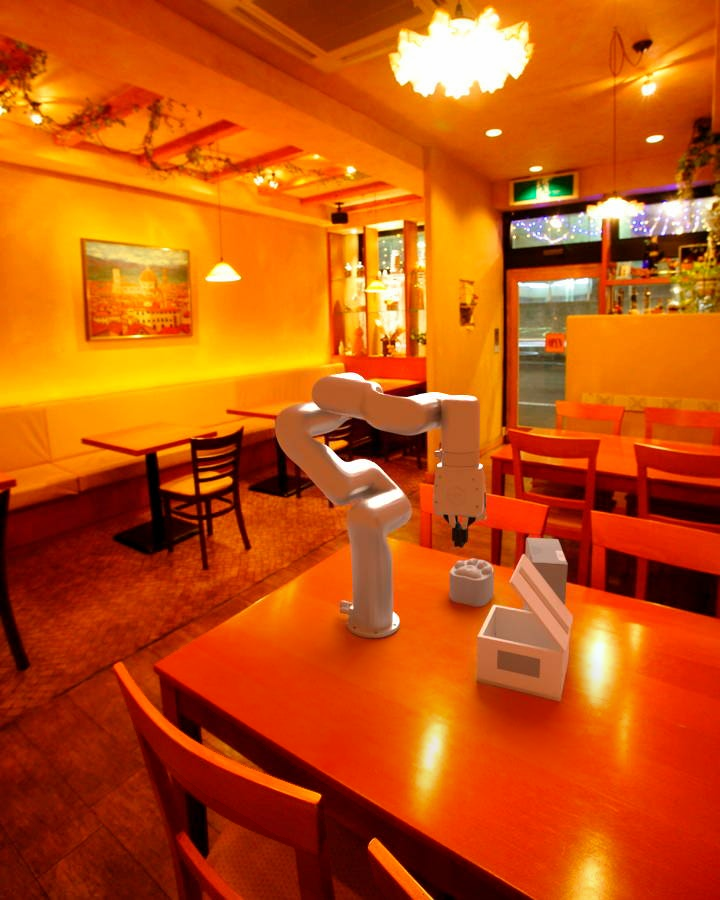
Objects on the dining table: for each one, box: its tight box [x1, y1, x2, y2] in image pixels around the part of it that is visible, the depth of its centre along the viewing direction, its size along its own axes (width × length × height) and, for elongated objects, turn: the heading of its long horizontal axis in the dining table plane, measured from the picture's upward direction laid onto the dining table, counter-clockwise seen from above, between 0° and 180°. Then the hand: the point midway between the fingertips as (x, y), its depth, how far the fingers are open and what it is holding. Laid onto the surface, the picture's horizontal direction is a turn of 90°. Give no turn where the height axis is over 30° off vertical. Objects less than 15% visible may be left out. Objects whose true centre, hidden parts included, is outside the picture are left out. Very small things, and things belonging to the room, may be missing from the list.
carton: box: [476, 604, 571, 702], centre depth 116 cm, size 16×14×10 cm
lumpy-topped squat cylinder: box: [448, 557, 495, 608], centre depth 150 cm, size 10×13×9 cm
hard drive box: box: [522, 537, 569, 611], centre depth 131 cm, size 16×8×20 cm, turn 168°
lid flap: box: [509, 553, 574, 653], centre depth 113 cm, size 16×14×1 cm
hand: (460, 544), depth 118 cm, fingers closed
